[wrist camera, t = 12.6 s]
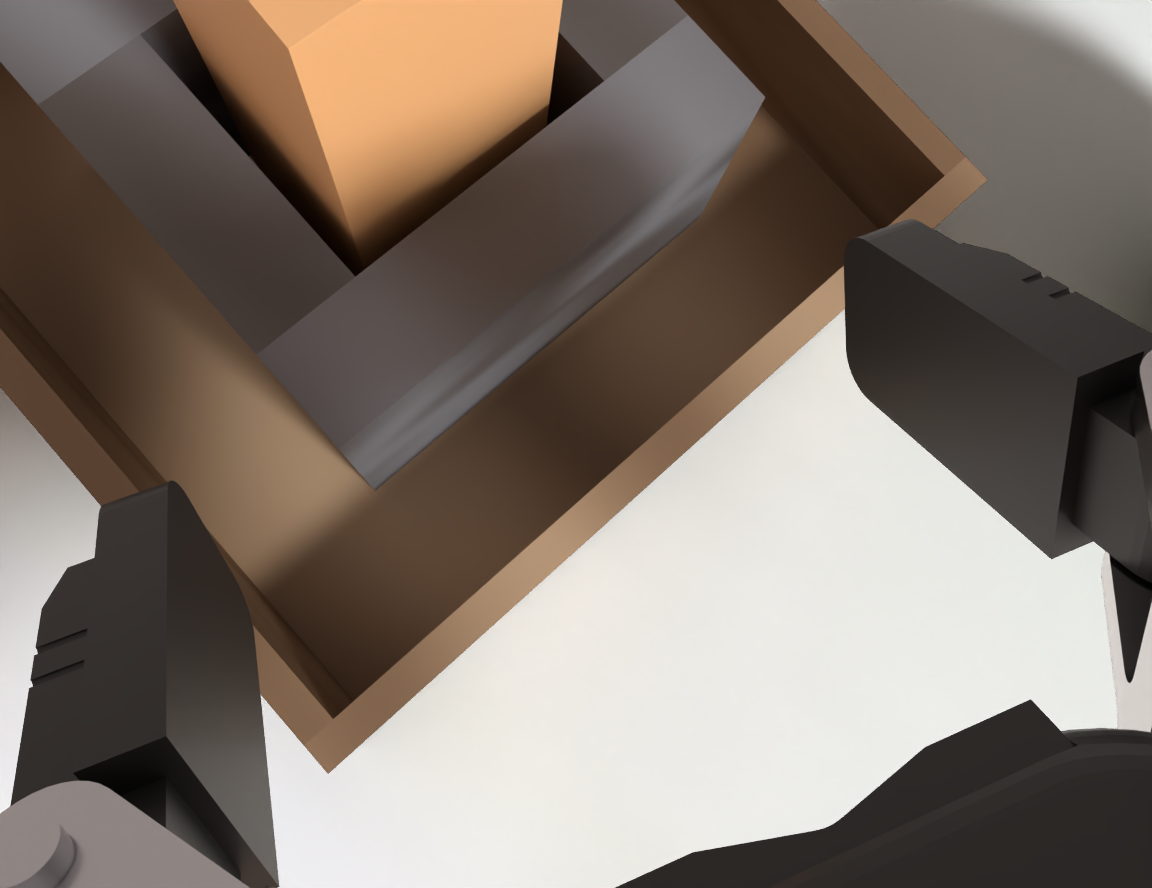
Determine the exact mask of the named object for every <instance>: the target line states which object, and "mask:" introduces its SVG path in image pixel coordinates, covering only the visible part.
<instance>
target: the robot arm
mask: <svg viewBox="0 0 1152 888" xmlns="http://www.w3.org/2000/svg"><path fill="white" fill-rule="evenodd" d="M844 293H845V326H846V352H847V359H848V363H849V367H850V370H851V373H852V375H853V377H854V380H855V382H856V383H857V385H858V387H859V388H860V390H861V392H862V393H863V394H864V395H865V396H866V397H867V398H868V399H869V400H870V401H871V402H872V403H873V404H874V405H875V406H877V407H878V408H879V409H880V410H881V411H882V412H883V413H885V414H886V415H887V416H888V417H889V418H890V419H891V420H893V421H894V422H895V423H896V424H897V425H898V426H899V427H901V428H902V429H903V430H904V431H905V432H906V433H907V434H909V435H910V436H911V437H912V438H913V439H914V440H915V441H917V442H918V443H919V444H920V445H921V446H922V447H924V448H925V449H926V450H927V451H928V452H929V453H930V454H932V455H933V456H934V457H935V458H936V459H937V460H938V461H940V462H941V463H942V464H943V465H944V466H945V467H946V468H948V469H949V470H950V471H951V472H952V473H953V474H954V475H956V476H957V477H958V478H959V479H960V480H961V481H962V482H964V483H965V484H966V485H967V486H968V487H969V488H970V489H972V490H973V491H974V492H975V493H976V494H977V495H978V496H980V497H981V498H982V499H983V500H984V501H985V502H986V503H988V504H989V505H990V506H991V507H992V508H993V509H995V510H996V511H997V512H998V513H999V514H1000V515H1001V516H1003V517H1004V518H1005V519H1006V520H1007V521H1008V522H1009V523H1011V524H1012V525H1013V526H1014V527H1015V528H1016V529H1017V530H1019V531H1020V532H1021V533H1022V534H1023V535H1024V536H1025V537H1027V538H1028V539H1029V540H1030V541H1031V542H1032V543H1033V544H1035V545H1036V546H1037V547H1038V548H1039V549H1040V550H1041V551H1043V552H1044V553H1045V554H1046V555H1047V556H1048V557H1049V558H1051V559H1053V558H1055V557H1058V556H1060V555H1062V554H1065V553H1067V552H1069V551H1072V550H1074V549H1076V548H1079V547H1081V546H1083V545H1086V544H1088V543H1090V542H1093V541H1094V542H1095V543H1096V544H1098V545H1099V546H1100V547H1101V548H1103V549H1104V550H1105V554H1104V559H1103V564H1102V574H1101V577H1102V585H1103V594H1104V602H1105V610H1106V619H1107V627H1108V635H1109V644H1110V652H1111V660H1112V669H1113V677H1114V685H1115V694H1116V702H1117V718H1118V728H1117V729H1107V728H1096V729H1078V730H1067V731H1060V730H1059V729H1058V728H1057V727H1056V726H1055V725H1054V723H1053V722H1052V721H1051V720H1050V719H1049V718H1048V717H1047V716H1046V715H1045V714H1044V713H1043V712H1042V711H1041V710H1040V709H1039V708H1038V707H1037V705H1036V704H1035V703H1034V702H1033V701H1032V700H1028V701H1026V702H1024V703H1022V704H1020V705H1017V706H1015V707H1013V708H1011V709H1008V710H1006V711H1004V712H1002V713H1000V714H997V715H995V716H993V717H991V718H989V719H986V720H984V721H982V722H980V723H978V724H975V725H973V726H971V727H969V728H967V729H964V730H962V731H960V732H958V733H956V734H953V735H951V736H949V737H947V738H944V739H942V740H940V741H938V742H936V743H933V744H931V745H929V746H927V747H925V748H924V749H922V750H921V751H920V752H919V753H918V754H917V755H915V756H914V757H913V758H912V759H911V760H910V761H908V762H907V763H906V764H905V765H904V766H902V767H901V768H900V769H899V770H898V771H897V772H895V773H894V774H893V775H892V776H891V777H890V778H888V779H887V780H886V781H885V782H884V783H882V784H881V785H880V786H879V787H878V788H877V789H875V790H874V791H873V792H872V793H871V794H870V795H868V796H867V797H866V798H865V799H864V800H862V801H861V802H860V803H859V804H858V805H857V806H855V807H854V808H853V809H852V810H851V811H850V812H848V813H847V814H846V815H845V816H844V817H842V818H841V819H840V820H839V821H837V822H836V823H834V824H833V825H831V826H829V827H826V828H824V829H820V830H816V831H811V832H806V833H800V834H794V835H789V836H783V837H777V838H772V839H766V840H761V841H755V842H749V843H744V844H738V845H732V846H727V847H721V848H716V849H710V850H704V851H699V852H693V853H691V854H688V855H686V856H684V857H682V858H680V859H677V860H675V861H673V862H671V863H669V864H666V865H664V866H662V867H660V868H658V869H655V870H653V871H651V872H649V873H647V874H644V875H642V876H640V877H638V878H636V879H633V880H631V881H629V882H627V883H624V884H622V885H620V886H618V887H616V888H1152V334H1151V333H1149V332H1148V331H1146V330H1144V329H1142V328H1140V327H1139V326H1137V325H1135V324H1133V323H1131V322H1130V321H1128V320H1126V319H1124V318H1122V317H1121V316H1119V315H1117V314H1115V313H1113V312H1111V311H1110V310H1108V309H1106V308H1104V307H1102V306H1101V305H1099V304H1097V303H1095V302H1093V301H1092V300H1090V299H1088V298H1086V297H1084V296H1083V295H1081V294H1079V293H1077V292H1073V293H1070V292H1069V288H1068V287H1066V286H1065V285H1063V284H1061V283H1059V282H1057V281H1056V280H1054V279H1052V278H1050V277H1048V276H1047V277H1044V278H1043V277H1042V276H1041V272H1039V271H1037V270H1036V269H1034V268H1032V267H1030V266H1028V265H1027V264H1025V263H1023V262H1021V261H1019V260H1018V259H1016V258H1014V257H1012V256H1010V255H1009V254H1006V253H1002V252H998V251H994V250H990V249H985V248H981V247H977V246H973V245H969V244H965V243H962V244H958V243H956V242H955V241H953V240H951V239H949V238H948V237H946V236H944V235H942V234H941V233H939V232H937V231H935V230H934V229H932V228H930V227H928V226H927V225H925V224H923V223H922V222H920V221H917V220H914V219H907V220H904V221H901V222H898V223H896V224H893V225H890V226H887V227H885V228H882V229H879V230H876V231H873V232H871V233H868V234H865V235H862V236H859V237H857V238H854V239H852V240H851V241H850V242H849V243H848V244H847V246H846V249H845V252H844ZM36 649H37V651H38V654H37V655H34V661H33V668H32V674H31V681H32V684H33V687H31V688H29V693H28V699H27V706H26V712H25V718H24V724H23V731H22V737H21V743H20V750H19V756H18V762H17V768H16V775H15V781H14V787H13V794H12V800H11V806H10V807H9V808H8V809H6V810H5V811H3V812H2V813H1V814H0V888H277V887H279V880H278V870H277V860H276V849H275V839H274V829H273V819H272V809H271V798H270V788H269V778H268V768H267V758H266V747H265V737H264V727H263V717H262V707H261V696H260V686H259V676H258V666H257V656H256V645H255V635H254V629H253V624H252V620H251V616H250V613H249V609H248V606H247V603H246V601H245V598H244V596H243V593H242V591H241V589H240V587H239V584H238V582H237V581H236V579H235V577H234V575H233V573H232V572H231V570H230V568H229V567H228V565H227V563H226V561H225V560H224V558H223V556H222V555H221V553H220V551H219V549H218V548H217V546H216V544H215V542H214V541H213V539H212V537H211V536H210V534H209V532H208V530H207V529H206V527H205V525H204V524H203V522H202V520H201V518H200V517H199V515H198V513H197V512H196V510H195V508H194V506H193V505H192V503H191V501H190V500H189V498H188V496H187V495H186V493H185V492H184V490H183V489H182V488H181V486H180V485H179V484H178V483H177V482H175V481H173V480H172V481H168V482H165V483H163V484H160V485H157V486H154V487H151V488H149V489H146V490H143V491H140V492H137V493H135V494H132V495H129V496H126V497H123V498H121V499H118V500H115V501H112V502H109V503H107V504H104V505H103V506H101V508H100V512H99V519H98V529H97V539H96V549H95V558H93V559H90V560H88V561H85V562H82V563H79V564H77V565H74V566H71V567H68V568H67V569H66V571H65V573H64V574H63V576H62V577H61V579H60V581H59V582H58V584H57V585H56V587H55V589H54V590H53V592H52V593H51V595H50V597H49V598H48V600H47V601H46V603H45V605H44V606H43V608H42V611H41V617H40V624H39V630H38V636H37V643H36Z"/></svg>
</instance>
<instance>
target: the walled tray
mask: <svg viewBox="0 0 1152 888" xmlns="http://www.w3.org/2000/svg"><path fill="white" fill-rule="evenodd" d="M986 181H987V179H986V178H985V177H984V176H983V175H982V174H981V172H980V171H979V170H978V169H977V168H976V167H975V166H974V165H973V164H972V163H971V162H970V161H969V160H968V159H967V158H966V157H965V156H964V155H963V154H962V153H961V152H960V151H959V149H958V148H957V147H956V146H955V145H954V144H953V143H952V142H951V141H950V140H949V139H948V138H947V137H946V136H945V135H944V134H943V133H942V132H941V131H940V130H939V129H938V128H937V126H936V125H935V124H934V123H933V122H932V121H931V120H930V119H929V118H928V117H927V116H926V115H925V114H924V113H923V112H922V111H921V110H920V109H919V108H918V107H917V106H916V105H915V103H914V102H913V101H912V100H911V99H910V98H909V97H908V96H907V95H906V94H905V93H904V92H903V91H902V90H901V89H900V88H899V87H898V86H897V85H896V84H895V83H894V82H893V80H892V79H891V78H890V77H889V76H888V75H887V74H886V73H885V72H884V71H883V70H882V69H881V68H880V67H879V66H878V65H877V64H876V63H875V62H874V61H873V60H872V59H871V57H870V56H869V55H868V54H867V53H866V52H865V51H864V50H863V49H862V48H861V47H860V46H859V45H858V44H857V43H856V42H855V41H854V40H853V39H852V38H851V37H850V36H849V34H848V33H847V32H846V31H845V30H844V29H843V28H842V27H841V26H840V25H839V24H838V23H837V22H836V21H835V20H834V19H833V18H832V17H831V16H830V15H829V14H828V13H827V11H826V10H825V9H824V8H823V7H822V6H821V5H820V4H819V3H818V2H817V1H816V0H563V2H562V9H561V17H560V25H559V32H558V40H557V48H556V56H555V63H554V71H553V79H552V86H551V94H550V102H549V109H548V117H547V125H546V127H545V128H544V129H543V130H542V131H540V132H539V133H538V134H536V135H535V136H534V137H533V138H531V139H530V140H529V141H528V142H526V143H525V144H524V145H522V146H521V147H520V148H519V149H517V150H516V151H515V152H514V153H512V154H511V155H510V156H508V157H507V158H506V159H505V160H503V161H502V162H501V163H500V164H498V165H497V166H496V167H494V168H493V169H492V170H491V171H489V172H488V173H487V174H486V175H484V176H483V177H482V178H480V179H479V180H478V181H477V182H475V183H474V184H473V185H472V186H470V187H469V188H468V189H466V190H465V191H464V192H463V193H461V194H460V195H459V196H458V197H456V198H455V199H454V200H452V201H451V202H450V203H449V204H447V205H446V206H445V207H444V208H442V209H441V210H440V211H438V212H437V213H436V214H435V215H433V216H432V217H431V218H430V219H428V220H427V221H426V222H425V223H423V224H422V225H421V226H419V227H418V228H417V229H416V230H414V231H413V232H412V233H411V234H409V235H408V236H407V237H405V238H404V239H403V240H402V241H400V242H399V243H398V244H397V245H395V246H394V247H393V248H391V249H390V250H389V251H388V252H386V253H385V254H384V255H383V256H381V257H380V258H379V259H377V260H376V261H375V262H374V263H372V264H371V265H370V266H369V267H367V268H366V269H365V270H363V271H362V272H361V273H360V274H358V275H357V276H356V277H355V276H354V275H353V274H352V272H351V271H350V270H349V269H348V268H347V267H346V266H345V265H344V263H343V262H342V261H341V260H340V259H339V258H338V257H337V256H336V254H335V253H334V252H333V251H332V250H331V249H330V248H329V247H328V245H327V244H326V243H325V242H324V241H323V240H322V239H321V238H320V236H319V235H318V234H317V233H316V232H315V231H314V230H313V229H312V227H311V226H310V225H309V224H308V223H307V222H306V221H305V220H304V218H303V217H302V216H301V215H300V214H299V213H298V212H297V211H296V209H295V208H294V207H293V206H292V205H291V204H290V203H289V202H288V200H287V199H286V198H285V197H284V196H283V195H282V194H281V193H280V191H279V190H278V189H277V188H276V187H275V186H274V185H273V184H272V182H271V181H270V180H269V179H268V178H267V177H266V176H265V175H264V173H263V172H262V171H261V170H260V169H259V168H258V167H257V165H256V163H255V161H254V159H253V157H252V155H251V154H250V152H249V150H248V148H247V146H246V144H245V142H244V140H243V138H242V136H241V134H240V132H239V130H238V128H237V126H236V124H235V122H234V120H233V118H232V116H231V114H230V112H229V110H228V108H227V106H226V104H225V102H224V100H223V98H222V96H221V94H220V92H219V90H218V88H217V86H216V84H215V82H214V80H213V78H212V76H211V74H210V72H209V70H208V68H207V66H206V64H205V62H204V60H203V58H202V56H201V54H200V52H199V51H198V49H197V47H196V45H195V43H194V41H193V39H192V37H191V35H190V33H189V31H188V29H187V27H186V25H185V23H184V21H183V19H182V17H181V15H180V13H179V11H178V9H177V7H176V5H175V3H174V1H173V0H0V387H1V388H2V390H3V391H4V392H5V393H6V394H7V395H8V397H9V398H10V399H11V400H12V401H13V402H14V404H15V405H16V406H17V407H18V408H19V410H20V411H21V412H22V413H23V414H24V415H25V417H26V418H27V419H28V420H29V421H30V423H31V424H32V425H33V426H34V427H35V428H36V430H37V431H38V432H39V433H40V434H41V436H42V437H43V438H44V439H45V440H46V441H47V443H48V444H49V445H50V446H51V447H52V449H53V450H54V451H55V452H56V453H57V454H58V456H59V457H60V458H61V459H62V460H63V462H64V463H65V464H66V465H67V466H68V467H69V469H70V470H71V471H72V472H73V473H74V475H75V476H76V477H77V478H78V479H79V480H80V482H81V483H82V484H83V485H84V486H85V487H86V489H87V490H88V491H89V492H90V493H91V495H92V496H93V497H94V498H95V499H96V500H97V502H98V503H99V504H100V505H101V506H103V505H104V504H107V503H109V502H112V501H115V500H118V499H121V498H123V497H126V496H129V495H132V494H135V493H137V492H140V491H143V490H146V489H149V488H151V487H154V486H157V485H160V484H163V483H165V482H168V481H172V480H173V481H175V482H177V483H178V484H179V485H180V486H181V488H182V489H183V490H184V492H185V493H186V495H187V496H188V498H189V500H190V501H191V503H192V505H193V506H194V508H195V510H196V512H197V513H198V515H199V517H200V518H201V520H202V522H203V524H204V525H205V527H206V529H207V530H208V532H209V534H210V536H211V537H212V539H213V541H214V542H215V544H216V546H217V548H218V549H219V551H220V553H221V555H222V556H223V558H224V560H225V561H226V563H227V565H228V567H229V568H230V570H231V572H232V573H233V575H234V577H235V579H236V581H237V582H238V584H239V587H240V589H241V591H242V593H243V596H244V598H245V601H246V603H247V606H248V609H249V613H250V616H251V620H252V624H253V629H254V635H255V645H256V656H257V666H258V676H259V686H260V694H261V695H262V696H263V698H264V699H265V700H266V701H267V702H268V704H269V705H270V706H271V707H272V708H273V709H274V711H275V712H276V713H277V714H278V715H279V717H280V718H281V719H282V720H283V721H284V722H285V724H286V725H287V726H288V727H289V728H290V729H291V731H292V732H293V733H294V734H295V735H296V737H297V738H298V739H299V740H300V741H301V742H302V744H303V745H304V746H305V747H306V748H307V750H308V751H309V752H310V753H311V754H312V755H313V757H314V758H315V759H316V760H317V761H318V763H319V764H320V765H321V766H322V767H323V768H324V770H325V771H326V772H327V773H330V772H331V771H332V770H333V769H334V768H335V767H336V766H337V765H338V764H340V763H341V762H342V761H343V760H344V759H345V758H346V757H347V756H348V755H350V754H351V753H352V752H353V751H354V750H355V749H356V748H357V747H358V746H360V745H361V744H362V743H363V742H364V741H365V740H366V739H367V738H368V737H370V736H371V735H372V734H373V733H374V732H375V731H376V730H377V729H378V728H380V727H381V726H382V725H383V724H384V723H385V722H386V721H387V720H388V719H390V718H391V717H392V716H393V715H394V714H395V713H396V712H397V711H398V710H400V709H401V708H402V707H403V706H404V705H405V704H406V703H407V702H408V701H410V700H411V699H412V698H413V697H414V696H415V695H416V694H417V693H418V692H420V691H421V690H422V689H423V688H424V687H425V686H426V685H427V684H428V683H430V682H431V681H432V680H433V679H434V678H435V677H436V676H437V675H438V674H439V673H441V672H442V671H443V670H444V669H445V668H446V667H447V666H448V665H449V664H451V663H452V662H453V661H454V660H455V659H456V658H457V657H458V656H459V655H461V654H462V653H463V652H464V651H465V650H466V649H467V648H468V647H469V646H471V645H472V644H473V643H474V642H475V641H476V640H477V639H478V638H479V637H481V636H482V635H483V634H484V633H485V632H486V631H487V630H488V629H489V628H491V627H492V626H493V625H494V624H495V623H496V622H497V621H498V620H499V619H501V618H502V617H503V616H504V615H505V614H506V613H507V612H508V611H509V610H511V609H512V608H513V607H514V606H515V605H516V604H517V603H518V602H519V601H521V600H522V599H523V598H524V597H525V596H526V595H527V594H528V593H529V592H531V591H532V590H533V589H534V588H535V587H536V586H537V585H538V584H539V583H541V582H542V581H543V580H544V579H545V578H546V577H547V576H548V575H549V574H551V573H552V572H553V571H554V570H555V569H556V568H557V567H558V566H559V565H561V564H562V563H563V562H564V561H565V560H566V559H567V558H568V557H569V556H571V555H572V554H573V553H574V552H575V551H576V550H577V549H578V548H579V547H581V546H582V545H583V544H584V543H585V542H586V541H587V540H588V539H589V538H591V537H592V536H593V535H594V534H595V533H596V532H597V531H598V530H599V529H600V528H602V527H603V526H604V525H605V524H606V523H607V522H608V521H609V520H610V519H612V518H613V517H614V516H615V515H616V514H617V513H618V512H619V511H620V510H622V509H623V508H624V507H625V506H626V505H627V504H628V503H629V502H630V501H632V500H633V499H634V498H635V497H636V496H637V495H638V494H639V493H640V492H642V491H643V490H644V489H645V488H646V487H647V486H648V485H649V484H650V483H652V482H653V481H654V480H655V479H656V478H657V477H658V476H659V475H660V474H662V473H663V472H664V471H665V470H666V469H667V468H668V467H669V466H670V465H672V464H673V463H674V462H675V461H676V460H677V459H678V458H679V457H680V456H682V455H683V454H684V453H685V452H686V451H687V450H688V449H689V448H690V447H692V446H693V445H694V444H695V443H696V442H697V441H698V440H699V439H700V438H702V437H703V436H704V435H705V434H706V433H707V432H708V431H709V430H710V429H712V428H713V427H714V426H715V425H716V424H717V423H718V422H719V421H720V420H722V419H723V418H724V417H725V416H726V415H727V414H728V413H729V412H730V411H732V410H733V409H734V408H735V407H736V406H737V405H738V404H739V403H740V402H742V401H743V400H744V399H745V398H746V397H747V396H748V395H749V394H750V393H752V392H753V391H754V390H755V389H756V388H757V387H758V386H759V385H760V384H761V383H763V382H764V381H765V380H766V379H767V378H768V377H769V376H770V375H771V374H773V373H774V372H775V371H776V370H777V369H778V368H779V367H780V366H781V365H783V364H784V363H785V362H786V361H787V360H788V359H789V358H790V357H791V356H793V355H794V354H795V353H796V352H797V351H798V350H799V349H800V348H801V347H803V346H804V345H805V344H806V343H807V342H808V341H809V340H810V339H811V338H813V337H814V336H815V335H816V334H817V333H818V332H819V331H820V330H821V329H823V328H824V327H825V326H826V325H827V324H828V323H829V322H830V321H831V320H833V319H834V318H835V317H836V316H837V315H838V314H839V313H840V312H841V311H843V310H844V309H845V293H844V252H845V249H846V246H847V244H848V243H849V242H850V241H851V240H852V239H854V238H857V237H859V236H862V235H865V234H868V233H871V232H873V231H876V230H879V229H882V228H885V227H887V226H890V225H893V224H896V223H898V222H901V221H904V220H907V219H914V220H917V221H920V222H922V223H923V224H925V225H927V226H928V227H930V228H932V229H934V228H935V227H936V226H937V225H938V224H939V223H940V222H941V221H942V220H944V219H945V218H946V217H947V216H948V215H949V214H950V213H951V212H952V211H954V210H955V209H956V208H957V207H958V206H959V205H960V204H961V203H962V202H964V201H965V200H966V199H967V198H968V197H969V196H970V195H971V194H972V193H974V192H975V191H976V190H977V189H978V188H979V187H980V186H981V185H982V184H984V183H985V182H986Z"/></svg>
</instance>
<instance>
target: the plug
mask: <svg viewBox="0 0 1152 888" xmlns="http://www.w3.org/2000/svg"><path fill="white" fill-rule="evenodd" d="M173 1H174V3H175V5H176V7H177V9H178V11H179V13H180V15H181V17H182V19H183V21H184V23H185V25H186V27H187V29H188V31H189V33H190V35H191V37H192V39H193V41H194V43H195V45H196V47H197V49H198V51H199V52H200V54H201V56H202V58H203V60H204V62H205V64H206V66H207V68H208V70H209V72H210V74H211V76H212V78H213V80H214V82H215V84H216V86H217V88H218V90H219V92H220V94H221V96H222V98H223V100H224V102H225V104H226V106H227V108H228V110H229V112H230V114H231V116H232V118H233V120H234V122H235V124H236V126H237V128H238V130H239V132H240V134H241V136H242V138H243V140H244V142H245V144H246V146H247V148H248V150H249V152H250V154H251V155H252V157H253V159H254V161H255V163H256V165H257V167H258V168H259V169H260V170H261V171H262V172H263V173H264V175H265V176H266V177H267V178H268V179H269V180H270V181H271V182H272V184H273V185H274V186H275V187H276V188H277V189H278V190H279V191H280V193H281V194H282V195H283V196H284V197H285V198H286V199H287V200H288V202H289V203H290V204H291V205H292V206H293V207H294V208H295V209H296V211H297V212H298V213H299V214H300V215H301V216H302V217H303V218H304V220H305V221H306V222H307V223H308V224H309V225H310V226H311V227H312V229H313V230H314V231H315V232H316V233H317V234H318V235H319V236H320V238H321V239H322V240H323V241H324V242H325V243H326V244H327V245H328V247H329V248H330V249H331V250H332V251H333V252H334V253H335V254H336V256H337V257H338V258H339V259H340V260H341V261H342V262H343V263H344V265H345V266H346V267H347V268H348V269H349V270H350V271H351V272H352V274H353V275H354V276H355V277H356V276H357V275H358V274H360V273H361V272H362V271H363V270H365V269H366V268H367V267H369V266H370V265H371V264H372V263H374V262H375V261H376V260H377V259H379V258H380V257H381V256H383V255H384V254H385V253H386V252H388V251H389V250H390V249H391V248H393V247H394V246H395V245H397V244H398V243H399V242H400V241H402V240H403V239H404V238H405V237H407V236H408V235H409V234H411V233H412V232H413V231H414V230H416V229H417V228H418V227H419V226H421V225H422V224H423V223H425V222H426V221H427V220H428V219H430V218H431V217H432V216H433V215H435V214H436V213H437V212H438V211H440V210H441V209H442V208H444V207H445V206H446V205H447V204H449V203H450V202H451V201H452V200H454V199H455V198H456V197H458V196H459V195H460V194H461V193H463V192H464V191H465V190H466V189H468V188H469V187H470V186H472V185H473V184H474V183H475V182H477V181H478V180H479V179H480V178H482V177H483V176H484V175H486V174H487V173H488V172H489V171H491V170H492V169H493V168H494V167H496V166H497V165H498V164H500V163H501V162H502V161H503V160H505V159H506V158H507V157H508V156H510V155H511V154H512V153H514V152H515V151H516V150H517V149H519V148H520V147H521V146H522V145H524V144H525V143H526V142H528V141H529V140H530V139H531V138H533V137H534V136H535V135H536V134H538V133H539V132H540V131H542V130H543V129H544V128H545V127H546V125H547V117H548V109H549V102H550V94H551V86H552V79H553V71H554V63H555V56H556V48H557V40H558V32H559V25H560V17H561V9H562V2H563V0H173Z"/></svg>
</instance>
